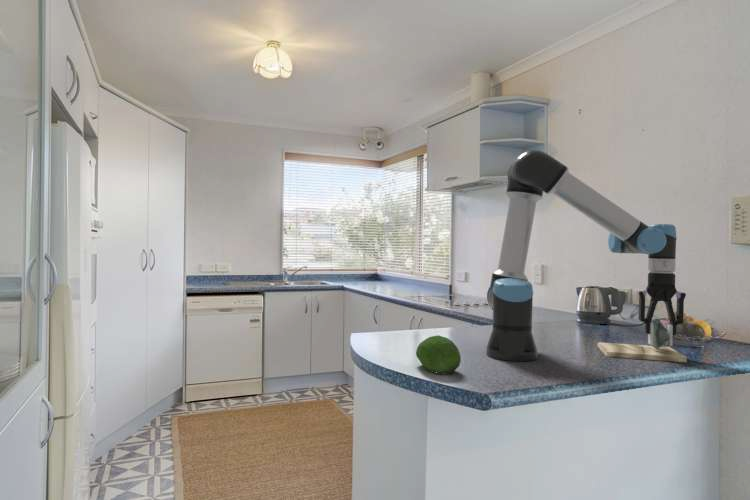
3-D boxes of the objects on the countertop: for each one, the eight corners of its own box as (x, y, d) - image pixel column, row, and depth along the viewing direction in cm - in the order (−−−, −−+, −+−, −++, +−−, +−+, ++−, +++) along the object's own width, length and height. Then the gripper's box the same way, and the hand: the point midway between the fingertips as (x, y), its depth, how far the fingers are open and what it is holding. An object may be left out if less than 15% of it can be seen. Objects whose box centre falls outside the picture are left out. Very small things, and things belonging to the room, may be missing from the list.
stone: (669, 355, 146) (674, 323, 145) (654, 352, 147) (660, 321, 147) (660, 348, 156) (665, 318, 156) (646, 345, 157) (651, 316, 157)
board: (606, 356, 148) (607, 351, 148) (597, 346, 164) (597, 342, 164) (686, 362, 142) (686, 357, 142) (669, 351, 158) (669, 346, 158)
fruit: (407, 367, 131) (408, 331, 131) (438, 364, 134) (439, 329, 134) (433, 381, 117) (434, 341, 117) (467, 378, 120) (468, 339, 120)
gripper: (633, 271, 150) (632, 344, 150) (697, 273, 145) (696, 349, 145) (628, 270, 157) (626, 340, 157) (688, 272, 152) (687, 344, 152)
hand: (660, 344), depth 151 cm, fingers open, 5 cm apart
